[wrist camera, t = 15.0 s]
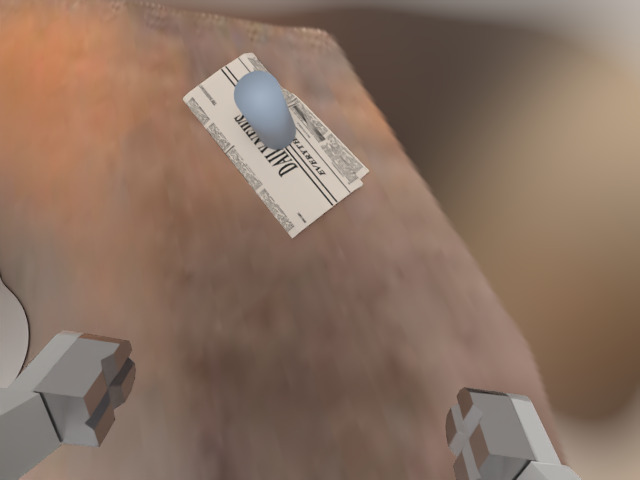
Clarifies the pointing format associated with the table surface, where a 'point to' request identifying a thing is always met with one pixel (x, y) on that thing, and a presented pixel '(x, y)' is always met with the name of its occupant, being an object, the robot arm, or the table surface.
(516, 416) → the robot arm
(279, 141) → the blue peg
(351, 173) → the newspaper
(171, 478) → the table surface
